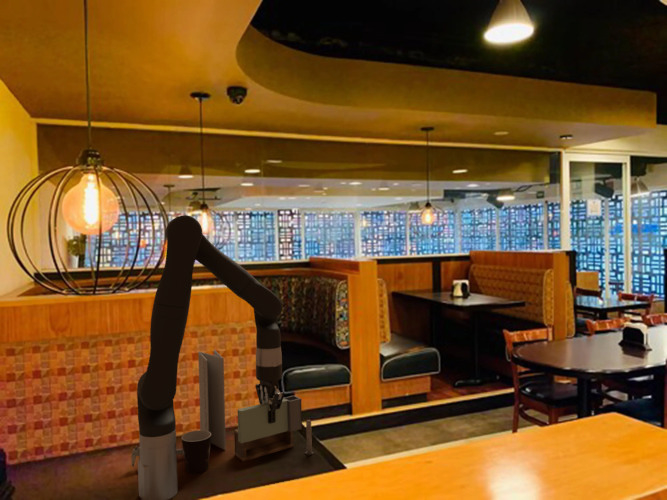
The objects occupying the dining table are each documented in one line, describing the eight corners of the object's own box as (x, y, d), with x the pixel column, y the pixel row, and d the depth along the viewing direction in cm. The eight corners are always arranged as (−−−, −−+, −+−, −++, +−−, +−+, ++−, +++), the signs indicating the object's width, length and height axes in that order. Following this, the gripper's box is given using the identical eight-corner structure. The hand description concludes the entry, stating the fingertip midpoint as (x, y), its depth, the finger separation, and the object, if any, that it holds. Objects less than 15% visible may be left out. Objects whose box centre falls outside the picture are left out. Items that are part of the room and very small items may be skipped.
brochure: (200, 437, 175) (198, 351, 175) (216, 435, 178) (214, 349, 177) (208, 453, 162) (206, 360, 162) (225, 450, 165) (223, 358, 164)
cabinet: (257, 472, 148) (256, 435, 148) (234, 455, 161) (234, 421, 160) (314, 454, 160) (313, 420, 160) (289, 439, 172) (288, 407, 172)
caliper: (132, 468, 152) (131, 447, 152) (131, 466, 153) (130, 446, 153) (200, 452, 161) (200, 433, 161) (200, 451, 162) (199, 432, 162)
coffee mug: (204, 476, 146) (203, 442, 146) (176, 474, 148) (175, 440, 148) (221, 459, 158) (220, 427, 157) (195, 457, 159) (194, 426, 159)
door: (243, 444, 140) (242, 412, 140) (236, 439, 144) (235, 408, 143) (301, 428, 151) (301, 398, 151) (294, 424, 155) (293, 395, 155)
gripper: (246, 359, 150) (247, 417, 151) (268, 369, 139) (269, 431, 140) (268, 356, 155) (269, 412, 155) (292, 364, 144) (293, 425, 144)
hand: (269, 421), depth 147 cm, fingers closed on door, 2 cm apart
